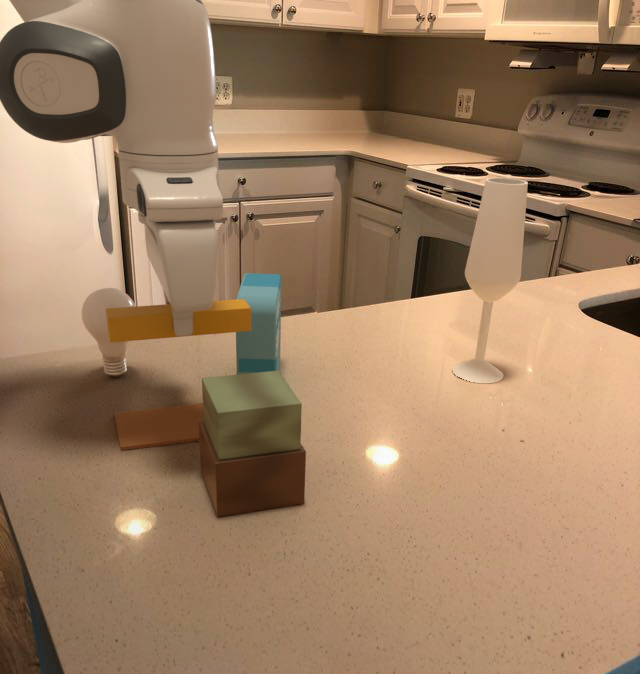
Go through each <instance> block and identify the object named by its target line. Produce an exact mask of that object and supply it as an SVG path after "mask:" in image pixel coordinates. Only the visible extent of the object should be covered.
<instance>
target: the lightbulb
mask: <svg viewBox="0 0 640 674" xmlns="http://www.w3.org/2000/svg"><path fill="white" fill-rule="evenodd" d="M122 307H137V305H136V303H135V301H134V300H133V299H132V298H131V297H130V295H129V294H127V293H126V292H124V291H123V290H121V289H119V288H114V287H102V288H98V289H96V290H94V291H92V292H91V293H90V294H89V295H88V296H87V297H86V298H85V300H84V302H83V304H82V307H81V321H82V324H83V325H84V328H85V329H86V331H87V332H88V333H89V334H90V335H91V337H92V338H93V339H94V340H95V342H96V344H97V348H98V349H99V350H98V351H100V353H101V355H102V363H103V367H104V368H103V370H104V371H103V372H104V373H105V374H106V375H108V376H111V377H113V378H118V377H120V376H122V375H124V374H125V373H126V372H127V371H128V368H127V358H126V352H127V349H128V346H129V345H128V343H129V341H124V342H112V343H111V342H110V339H109V334H108V328H107V319H106V310H105V309H108V308H122Z"/></svg>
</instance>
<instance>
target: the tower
mask: <svg viewBox="0 0 640 674" xmlns="http://www.w3.org/2000/svg"><path fill="white" fill-rule="evenodd" d="M201 392H202V394H201V395H202V396H201V397H202V403H203V419H204V421H199V440H200V441H199V459H200V461H199V462H200V472H201V475H202V478H203V481H204V483H205V484H204V485H205V486H206V487H205V488H206V489H207V492H208V495H209V497H210V500H211V501H210V502H211V503H212V506H213V509H214V511H215V514H216V517H217V518H218V517H220V518H221V517H226V516H233V515H240V514H245V513H252V512H258V511H264V510H272V509H277V508H284V507H285V508H286V507H291V506H297V505H303V504H305V493H306V465H307V464H306V461H307V450H306V449H305V448H304V445H303V444H302V442H301V441H302V439H301V438H302V409H303V408H302V407H303V403H302V401H301V400H300V399H299V397H298V396H297V394H296V393H295V392H294V390H293V388H292V387H291V386H290V384H289V383H288V382H287V380H286V379H285V377H284V376H283V375H282V373H281V372H280V370H279V371H270V372H259V373H249V374H239V375H237V374H230V375H220V376H208V377H202V378H201Z"/></svg>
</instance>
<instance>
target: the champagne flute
mask: <svg viewBox="0 0 640 674" xmlns="http://www.w3.org/2000/svg"><path fill="white" fill-rule="evenodd" d="M528 185H529V182H528V181H527V180H523V179H517V178H510V177H489V178H488V177H487V178H486V179H485V183H484V186H483V191H482V194H481V199H480V204H479V209H478V211H477V216H476V221H475V225H474V230H473V234H472V238H471V242H470V247H469V252H468V256H467V260H466V263H465V264H466V265H465V269H464V277H465V279H466V282H467V284H468V285H469V288H470V289H471V290H472V291H473V292H474V293H475V295H476V296H477V297H478V298H479V299H480V300H481V301H483V303H482V309H481V315H480V322H479V329H478V336H477V343H476V348H475V354H474V355H475V356H474V358H473V359H470V360H467V361H465V362H462V363H459V364H456V365H454V366H455V367H454V366H453V367H452V368H453V373H454V374H455V375H456V376H455V375H454V374H453V373H452V374H453V375H454V376H455V377H457V376H458V377H460V378H462V379H461V380H463V379H464V380H463V381H466V380H467V381H466V382H469V381H470V382H469V383H474V382H475V384H494V383H498V382H500V381H502V380H503V379H504V373H503V372H502V371H501V370H500V369H498V368H497V367H496V366H494V365H493V364H491V363H490V362H489V361H487V360H485V358H486V357H485V356H486V350H487V344H488V338H489V331H490V325H491V318H492V311H493V306H494V303H495V302H496V301H499V300H501V299H502V298H503V297H505V296H506V295H508V294H509V293H511V291H513V289H515V287H517V285H518V284H519V283H520V281H521V278H522V265H523V263H522V262H523V252H524V237H525V225H526V213H527V212H526V210H527V199H528V198H527V197H528ZM458 377H457V378H458ZM460 378H459V379H460Z"/></svg>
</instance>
